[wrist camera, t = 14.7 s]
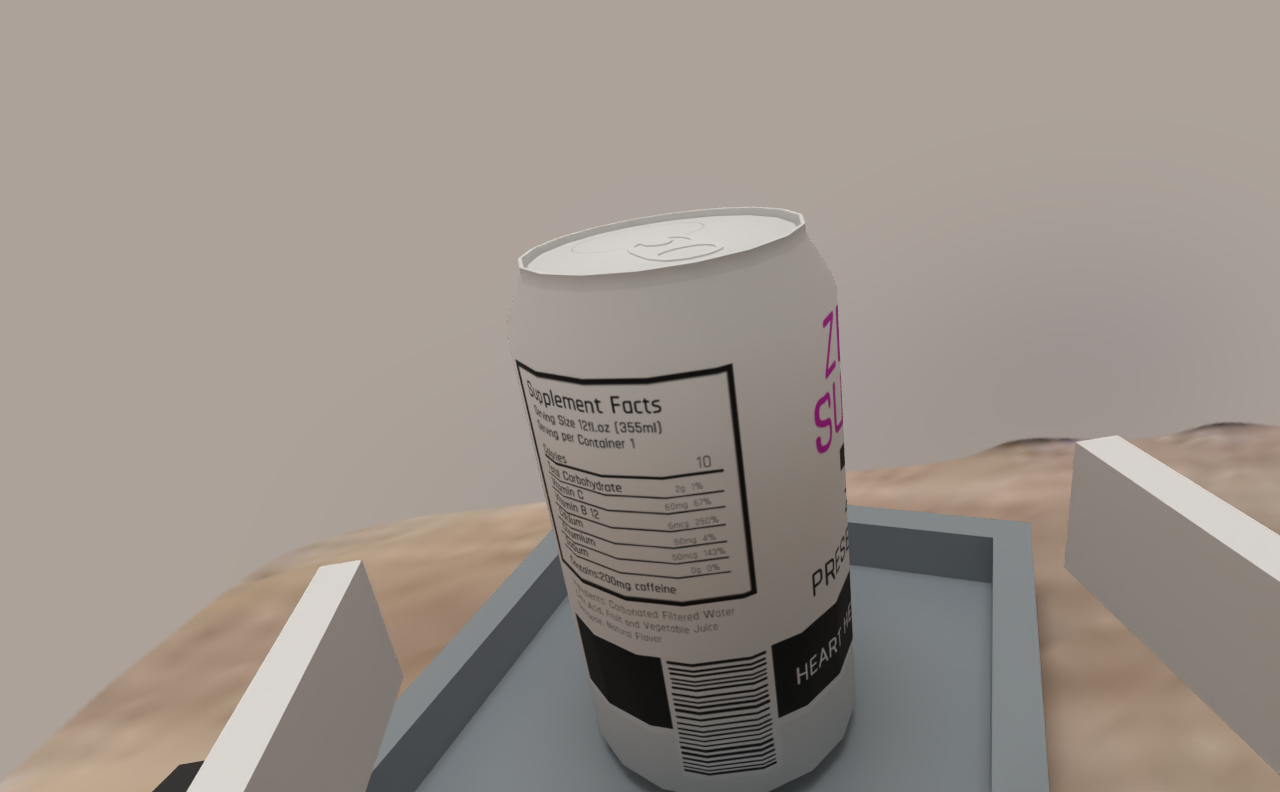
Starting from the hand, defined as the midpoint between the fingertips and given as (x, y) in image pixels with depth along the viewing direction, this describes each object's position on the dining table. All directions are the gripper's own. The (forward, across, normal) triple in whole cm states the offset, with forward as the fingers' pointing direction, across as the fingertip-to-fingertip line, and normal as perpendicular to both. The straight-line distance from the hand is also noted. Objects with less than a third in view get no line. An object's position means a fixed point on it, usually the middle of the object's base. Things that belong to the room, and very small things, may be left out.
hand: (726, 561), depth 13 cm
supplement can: (+7, 0, -10) cm, 12 cm away
